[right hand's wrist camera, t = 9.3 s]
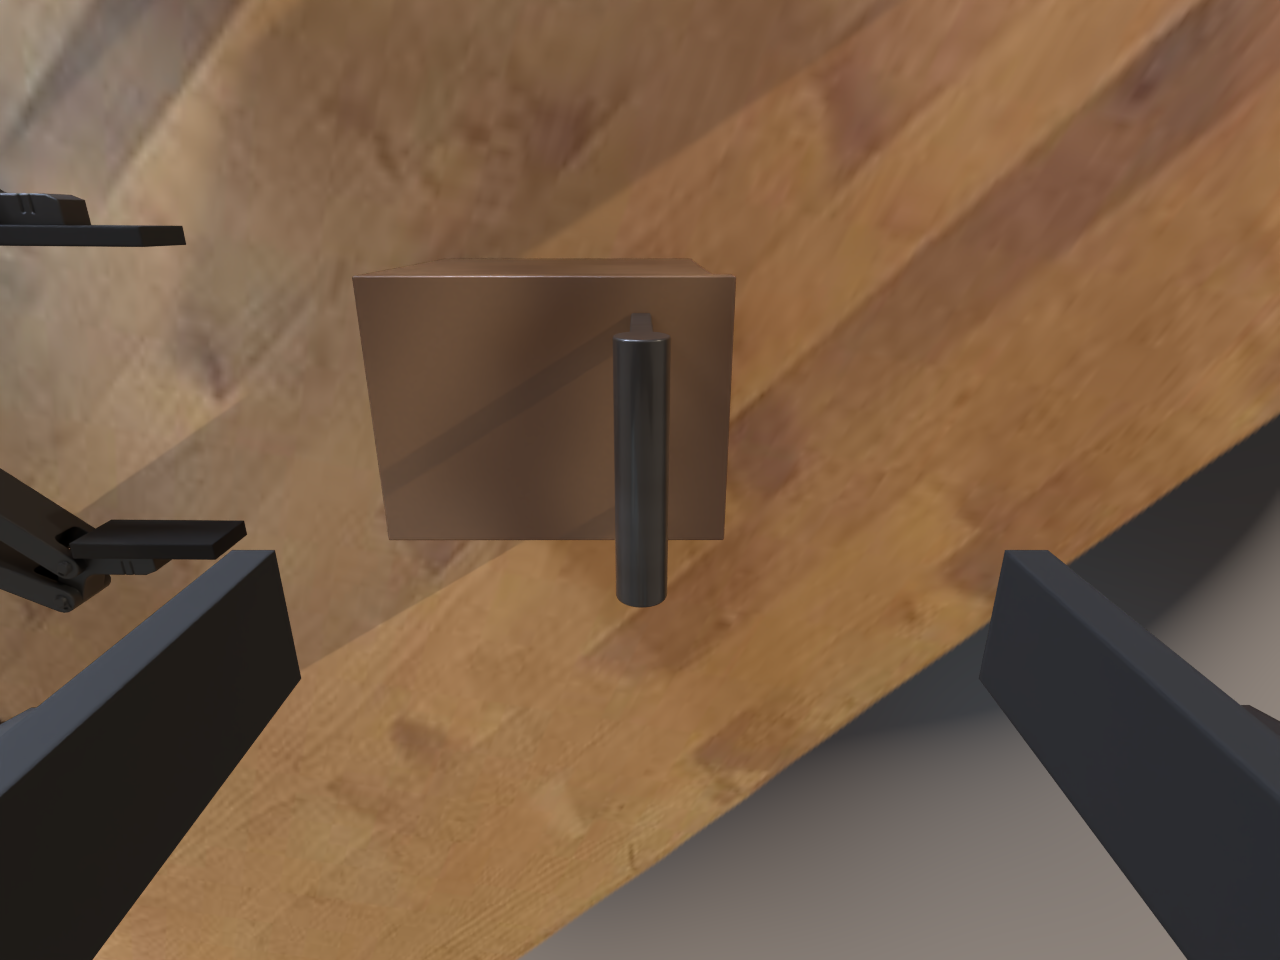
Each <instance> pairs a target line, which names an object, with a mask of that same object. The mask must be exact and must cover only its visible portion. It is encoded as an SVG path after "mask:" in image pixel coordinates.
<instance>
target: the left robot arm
mask: <svg viewBox="0 0 1280 960" xmlns="http://www.w3.org/2000/svg"><path fill="white" fill-rule="evenodd" d="M170 245H186V242H185V237H184V232H183V227H182V226H131V225H91V223H90V219H89V215H88V211H87V207H86V203H85V200H83V199H80V198H78V197H75V196H72V195H61V194H22V193H19V194H18V193H6V192H4V191H2V190H0V246H107V247H150V246H170ZM246 535H247V532H246V528H245V523H244V521H211V520H110V521H108V522H107V523H105V524H103V525H101V526H100V527H98V528H96V529H95V528H93V527H92V526H90V525H89V524H87V523H86V522H84V521H82V520H81V519H79V518H78V517H76V516H75V515H73V514H71V513H70V512H68V511H67V510H65V509H63V508H62V507H60V506H59V505H57V504H56V503H54V502H52V501H51V500H49V499H48V498H46V497H45V496H43V495H41V494H40V493H38V492H37V491H35V490H34V489H32V488H30V487H29V486H27V485H26V484H24V483H23V482H21V481H19V480H18V479H16V478H15V477H13V476H12V475H10V474H8V473H7V472H5V471H4V470H2V469H1V468H0V589H2V590H5V591H7V592H10V593H12V594H15V595H18V596H20V597H23V598H25V599H28V600H31V601H33V602H36V603H38V604H41V605H43V606H46V607H49V608H51V609H54V610H56V611H59V612H63V613H66V612H70V611H72V610H73V609H75V608H76V607H78V606H79V605H81V604H82V603H84V602H85V601H87V600H88V599H89V598H91V597H92V596H94V595H95V594H97V593H98V592H100V591H101V590H103V589H104V588H105V587H107V586H108V585H109V584H110V582H111V577H110V575H125V574H126V575H133V574H135V575H147V574H150V573H152V572H155V571H157V570H158V569H159V568H161V567H162V566H164V565H165V564H166V563H168V562H169V561H171V560H172V559H207V560H216V559H217V558H218V557H219V556H221V555H222V554H223V553H224V552H226V551H227V550H228V549H230V548H231V547H232V546H233V545H235V544H236V543H237V542H238V541H240V540H241V539H242V538H243V537H245V536H246ZM69 548H71V549H69Z"/></svg>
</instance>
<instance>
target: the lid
mask: <svg viewBox="0 0 1280 960" xmlns="http://www.w3.org/2000/svg"><path fill="white" fill-rule="evenodd" d="M352 279H353V286H354V293H355V300H356V307H357V314H358V322H359V329H360V336H361V343H362V350H363V357H364V364H365V372H366V379H367V386H368V393H369V400H370V407H371V414H372V422H373V429H374V436H375V443H376V450H377V457H378V465H379V472H380V479H381V486H382V493H383V500H384V507H385V515H386V522H387V529H388V536H389V540H615V548H616V596H617V598H618V599H619V601H621V602H622V603H624V604H626V605H628V606H632V607H651V606H655V605H657V604H660V603H661V602H663V601H664V600H665V598H666V596H667V557H668V540H723V539H724V524H725V503H726V482H727V460H728V439H729V417H730V396H731V375H732V353H733V332H734V310H735V289H736V276H734V275H732V274H361V275H356V276H353V277H352Z"/></svg>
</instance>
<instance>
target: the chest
mask: <svg viewBox="0 0 1280 960" xmlns="http://www.w3.org/2000/svg"><path fill="white" fill-rule="evenodd" d="M367 274H711V273H710V272H709V271H707V270H706V269H704V268H703V267H701V266H700V265H699V264H697V263H696V262H694V261H693V260H692V259H441V260H436V261H431V262H425V263H420V264H415V265H410V266H404V267H399V268H394V269H388V270H383V271H378V272H372V273H367Z"/></svg>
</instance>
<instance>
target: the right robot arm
mask: <svg viewBox="0 0 1280 960" xmlns="http://www.w3.org/2000/svg"><path fill="white" fill-rule="evenodd" d="M300 679H301V675H300V670H299V665H298V661H297V656H296V651H295V646H294V641H293V636H292V631H291V626H290V622H289V617H288V612H287V607H286V602H285V597H284V592H283V587H282V582H281V578H280V573H279V568H278V563H277V558H276V553H275V550H232V551H231V552H229V553H228V554H227V555H226V556H224V557H223V558H222V559H221V560H219V561H218V562H217V563H216V564H215V565H213V566H212V567H211V568H210V569H208V570H207V571H206V572H205V573H203V574H202V575H201V576H200V577H198V578H197V579H196V580H195V581H193V582H192V583H191V584H190V585H188V586H187V587H186V588H185V589H183V590H182V591H181V592H180V593H178V594H177V595H176V596H175V597H173V598H172V599H171V600H170V601H169V602H167V603H166V604H165V605H164V606H162V607H161V608H160V609H159V610H157V611H156V612H155V613H154V614H152V615H151V616H150V617H149V618H147V619H146V620H145V621H144V622H142V623H141V624H140V625H139V626H137V627H136V628H135V629H134V630H132V631H131V632H130V633H129V634H128V635H126V636H125V637H124V638H123V639H121V640H120V641H119V642H118V643H116V644H115V645H114V646H113V647H111V648H110V649H109V650H108V651H106V652H105V653H104V654H103V655H101V656H100V657H99V658H98V659H96V660H95V661H94V662H93V663H91V664H90V665H89V666H88V667H86V668H85V669H84V670H83V671H82V672H80V673H79V674H78V675H77V676H75V677H74V678H73V679H72V680H70V681H69V682H68V683H67V684H65V685H64V686H63V687H62V688H60V689H59V690H58V691H57V692H55V693H54V694H53V695H52V696H50V697H49V698H48V699H47V700H45V701H44V702H43V703H42V704H41V705H39V706H38V707H37V708H30V709H28V710H26V711H24V712H22V713H21V714H19V715H17V716H15V717H13V718H11V719H9V720H8V721H6V722H4V723H2V724H0V960H93V958H94V957H95V956H96V954H97V953H98V951H99V950H100V949H101V947H102V946H103V945H104V943H105V942H106V941H107V939H108V938H109V937H110V935H111V934H112V933H113V931H114V930H115V929H116V927H117V926H118V925H119V923H120V922H121V921H122V919H123V918H124V916H125V915H126V914H127V912H128V911H129V910H130V908H131V907H132V906H133V904H134V903H135V902H136V900H137V899H138V898H139V896H140V895H141V894H142V892H143V891H144V890H145V888H146V887H147V885H148V884H149V883H150V881H151V880H152V879H153V877H154V876H155V875H156V873H157V872H158V871H159V869H160V868H161V867H162V865H163V864H164V863H165V861H166V860H167V859H168V857H169V856H170V855H171V853H172V852H173V850H174V849H175V848H176V846H177V845H178V844H179V842H180V841H181V840H182V838H183V837H184V836H185V834H186V833H187V832H188V830H189V829H190V828H191V826H192V825H193V824H194V822H195V821H196V819H197V818H198V817H199V815H200V814H201V813H202V811H203V810H204V809H205V807H206V806H207V805H208V803H209V802H210V801H211V799H212V798H213V797H214V795H215V794H216V793H217V791H218V790H219V789H220V787H221V786H222V784H223V783H224V782H225V780H226V779H227V778H228V776H229V775H230V774H231V772H232V771H233V770H234V768H235V767H236V766H237V764H238V763H239V762H240V760H241V759H242V758H243V756H244V755H245V754H246V752H247V751H248V749H249V748H250V747H251V745H252V744H253V743H254V741H255V740H256V739H257V737H258V736H259V735H260V733H261V732H262V731H263V729H264V728H265V727H266V725H267V724H268V723H269V721H270V720H271V718H272V717H273V716H274V714H275V713H276V712H277V710H278V709H279V708H280V706H281V705H282V704H283V702H284V701H285V700H286V698H287V697H288V696H289V694H290V693H291V692H292V690H293V689H294V688H295V686H296V685H297V683H298V682H299V681H300ZM979 679H980V681H981V682H982V683H983V685H984V686H985V688H986V689H987V690H988V692H989V693H990V694H991V696H992V697H993V698H994V700H995V701H996V702H997V704H998V705H999V706H1000V708H1001V709H1002V710H1003V712H1004V713H1005V714H1006V716H1007V717H1008V718H1009V720H1010V721H1011V723H1012V724H1013V725H1014V726H1015V728H1016V729H1017V731H1018V732H1019V733H1020V735H1021V736H1022V737H1023V739H1024V740H1025V741H1026V743H1027V744H1028V745H1029V747H1030V748H1031V749H1032V751H1033V752H1034V754H1035V755H1036V756H1037V757H1038V759H1039V760H1040V761H1041V763H1042V764H1043V766H1044V767H1045V768H1046V770H1047V771H1048V772H1049V774H1050V775H1051V776H1052V778H1053V779H1054V780H1055V782H1056V783H1057V784H1058V786H1059V787H1060V788H1061V790H1062V791H1063V793H1064V794H1065V795H1066V797H1067V798H1068V799H1069V801H1070V802H1071V803H1072V805H1073V806H1074V807H1075V809H1076V810H1077V811H1078V813H1079V814H1080V815H1081V817H1082V818H1083V819H1084V821H1085V822H1086V823H1087V825H1088V826H1089V828H1090V829H1091V830H1092V832H1093V833H1094V834H1095V836H1096V837H1097V838H1098V840H1099V841H1100V842H1101V844H1102V845H1103V846H1104V848H1105V849H1106V850H1107V852H1108V853H1109V854H1110V856H1111V857H1112V858H1113V860H1114V861H1115V863H1116V864H1117V865H1118V867H1119V868H1120V869H1121V871H1122V872H1123V873H1124V875H1125V876H1126V877H1127V879H1128V880H1129V881H1130V883H1131V884H1132V885H1133V887H1134V888H1135V890H1136V891H1137V892H1138V894H1139V895H1140V896H1141V898H1142V899H1143V900H1144V902H1145V903H1146V904H1147V906H1148V907H1149V908H1150V910H1151V911H1152V912H1153V914H1154V915H1155V916H1156V918H1157V919H1158V920H1159V922H1160V923H1161V925H1162V926H1163V927H1164V929H1165V930H1166V931H1167V933H1168V934H1169V935H1170V937H1171V938H1172V939H1173V941H1174V942H1175V943H1176V945H1177V946H1178V947H1179V949H1180V950H1181V951H1182V953H1183V954H1184V955H1185V957H1186V958H1187V960H1280V721H1278V720H1276V719H1274V718H1272V717H1271V716H1269V715H1267V714H1265V713H1263V712H1261V711H1259V710H1258V709H1256V708H1254V707H1252V706H1250V705H1239V704H1238V703H1237V702H1236V701H1235V700H1233V699H1232V698H1231V697H1229V696H1228V695H1227V694H1226V693H1225V692H1223V691H1222V690H1221V689H1220V688H1218V687H1217V686H1216V685H1215V684H1213V683H1212V682H1211V681H1210V680H1208V679H1207V678H1206V677H1205V676H1203V675H1202V674H1201V673H1200V672H1198V671H1197V670H1196V669H1195V668H1194V667H1192V666H1191V665H1190V664H1189V663H1187V662H1186V661H1185V660H1184V659H1182V658H1181V657H1180V656H1179V655H1177V654H1176V653H1175V652H1174V651H1172V650H1171V649H1170V648H1169V647H1167V646H1166V645H1165V644H1164V643H1162V642H1161V641H1160V640H1159V639H1157V638H1156V637H1155V636H1154V635H1152V634H1151V633H1150V632H1149V631H1148V630H1146V629H1145V628H1144V627H1143V626H1141V625H1140V624H1139V623H1138V622H1136V621H1135V620H1134V619H1133V618H1131V617H1130V616H1129V615H1127V614H1126V613H1125V612H1124V611H1123V610H1121V609H1120V608H1119V607H1118V606H1116V605H1115V604H1114V603H1113V602H1111V601H1110V600H1109V599H1108V598H1107V597H1105V596H1104V595H1103V594H1102V593H1100V592H1099V591H1098V590H1097V589H1095V588H1094V587H1093V586H1092V585H1090V584H1089V583H1088V582H1087V581H1085V580H1084V579H1083V578H1082V577H1080V576H1079V575H1078V574H1077V573H1075V572H1074V571H1073V570H1072V569H1070V568H1069V567H1068V566H1067V565H1065V564H1064V563H1063V562H1062V561H1061V560H1059V559H1058V558H1057V557H1056V556H1054V555H1053V554H1052V553H1051V552H1049V551H1048V550H1005V553H1004V558H1003V563H1002V568H1001V573H1000V578H999V582H998V587H997V592H996V597H995V602H994V607H993V612H992V617H991V622H990V627H989V631H988V636H987V641H986V646H985V651H984V656H983V661H982V666H981V670H980V675H979Z"/></svg>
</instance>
